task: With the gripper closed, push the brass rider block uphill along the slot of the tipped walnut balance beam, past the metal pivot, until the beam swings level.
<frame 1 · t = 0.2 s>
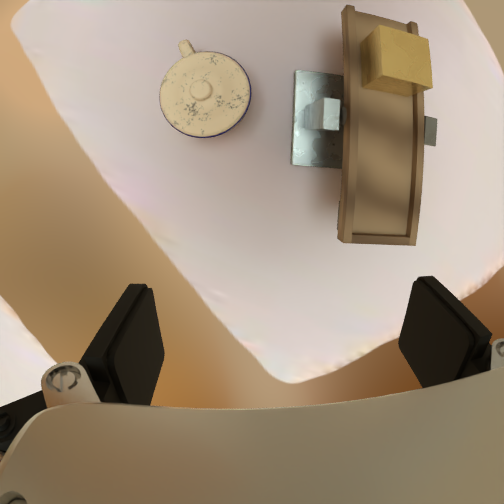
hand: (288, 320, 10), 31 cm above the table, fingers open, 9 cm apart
pivot stand: (350, 123, 36), on the table
brass rider: (384, 69, 25), point 10 cm above the table, tilted 6°, touching balance beam
teacup with lid: (208, 91, 35), on the table
balance beam: (381, 121, 27), point 10 cm above the table, hinge at -6.2°, touching brass rider
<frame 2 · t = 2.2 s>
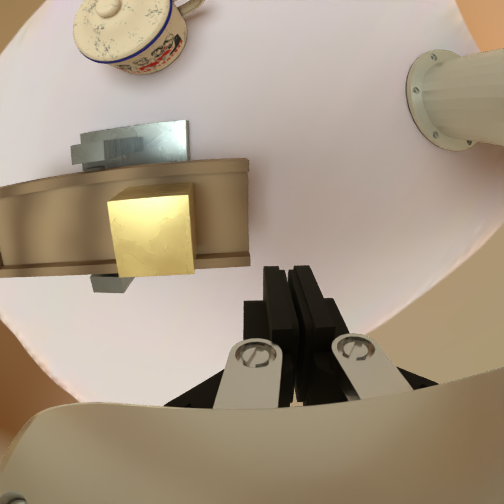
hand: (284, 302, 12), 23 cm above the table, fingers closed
pivot stand: (138, 193, 33), on the table
brass rider: (162, 216, 23), point 10 cm above the table, tilted 6°, touching balance beam
teacup with lid: (161, 33, 26), on the table
balance beam: (100, 218, 23), point 10 cm above the table, hinge at -6.2°, touching brass rider
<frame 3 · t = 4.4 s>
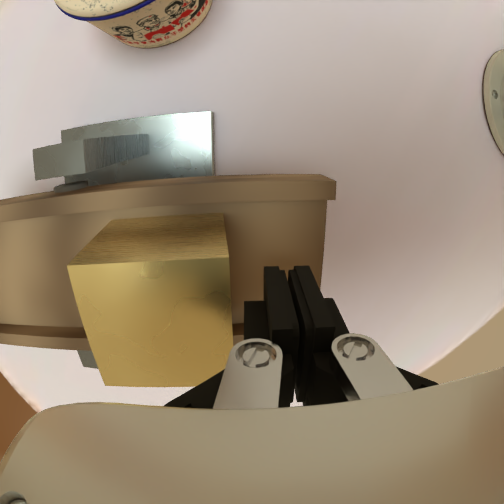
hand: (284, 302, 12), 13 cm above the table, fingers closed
pivot stand: (141, 213, 24), on the table
brass rider: (170, 268, 14), point 10 cm above the table, tilted 6°, touching balance beam, gripper
balance beam: (84, 264, 15), point 10 cm above the table, hinge at -6.3°, touching brass rider
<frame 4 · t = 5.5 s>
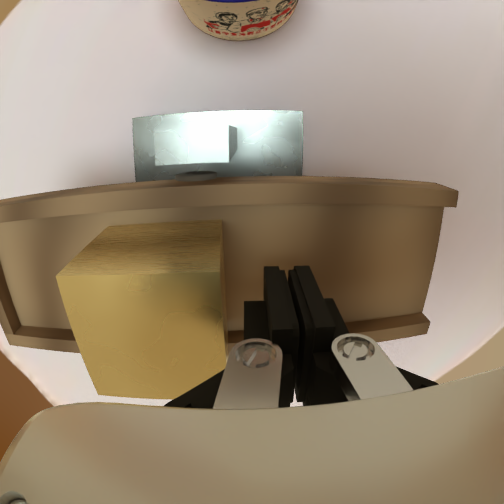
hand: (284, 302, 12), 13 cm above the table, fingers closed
pivot stand: (219, 210, 24), on the table
brass rider: (168, 276, 14), point 11 cm above the table, touching balance beam, gripper
balance beam: (201, 263, 15), point 10 cm above the table, hinge at -3.9°, touching brass rider
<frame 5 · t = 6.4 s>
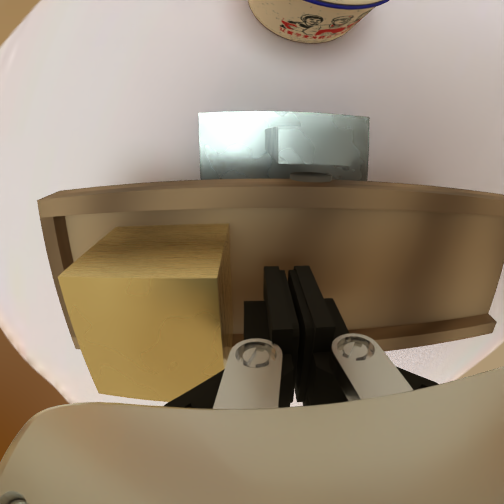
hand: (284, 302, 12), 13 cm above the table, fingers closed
pivot stand: (283, 211, 24), on the table
brass rider: (175, 278, 14), point 11 cm above the table, touching balance beam, gripper
balance beam: (306, 264, 15), point 10 cm above the table, hinge at 0.4°, touching brass rider
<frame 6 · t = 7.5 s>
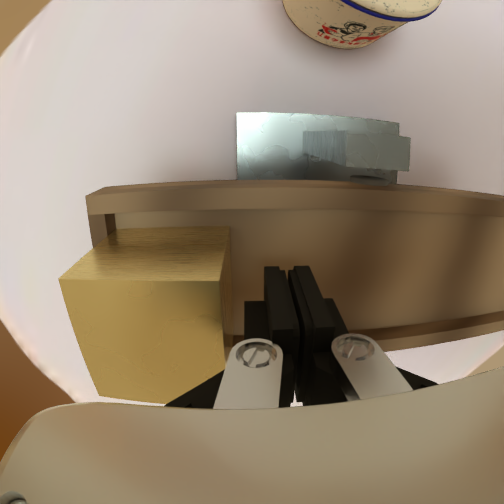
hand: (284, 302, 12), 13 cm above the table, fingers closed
pivot stand: (316, 212, 24), on the table
brass rider: (175, 280, 14), point 11 cm above the table, touching balance beam, gripper
teacup with lid: (350, 1, 18), on the table
balance beam: (360, 264, 15), point 10 cm above the table, hinge at 1.0°, touching brass rider
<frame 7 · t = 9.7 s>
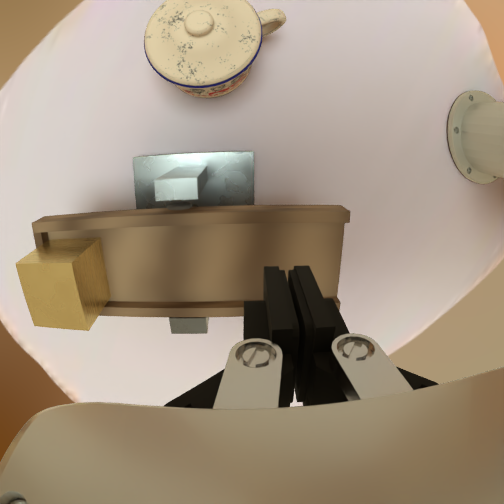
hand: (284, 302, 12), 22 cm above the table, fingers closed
pivot stand: (196, 223, 33), on the table
brass rider: (78, 268, 22), point 11 cm above the table, touching balance beam
teacup with lid: (222, 54, 27), on the table
balance beam: (183, 258, 24), point 10 cm above the table, hinge at 0.5°, touching brass rider
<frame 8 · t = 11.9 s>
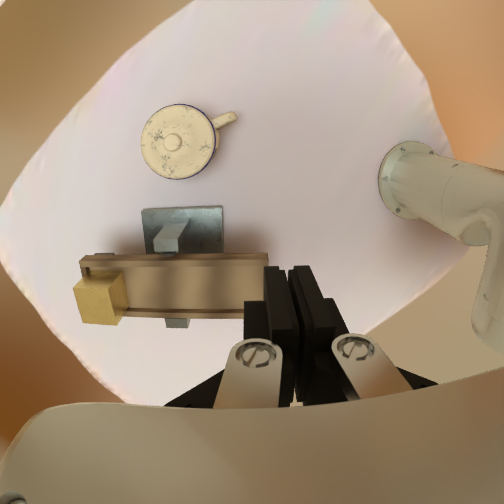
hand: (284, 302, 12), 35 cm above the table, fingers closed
pivot stand: (185, 254, 49), on the table
brass rider: (109, 287, 38), point 11 cm above the table, touching balance beam
teacup with lid: (199, 135, 42), on the table
balance beam: (172, 283, 39), point 10 cm above the table, hinge at 0.5°, touching brass rider
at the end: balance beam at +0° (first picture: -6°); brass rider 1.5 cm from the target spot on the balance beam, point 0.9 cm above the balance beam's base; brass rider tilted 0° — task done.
